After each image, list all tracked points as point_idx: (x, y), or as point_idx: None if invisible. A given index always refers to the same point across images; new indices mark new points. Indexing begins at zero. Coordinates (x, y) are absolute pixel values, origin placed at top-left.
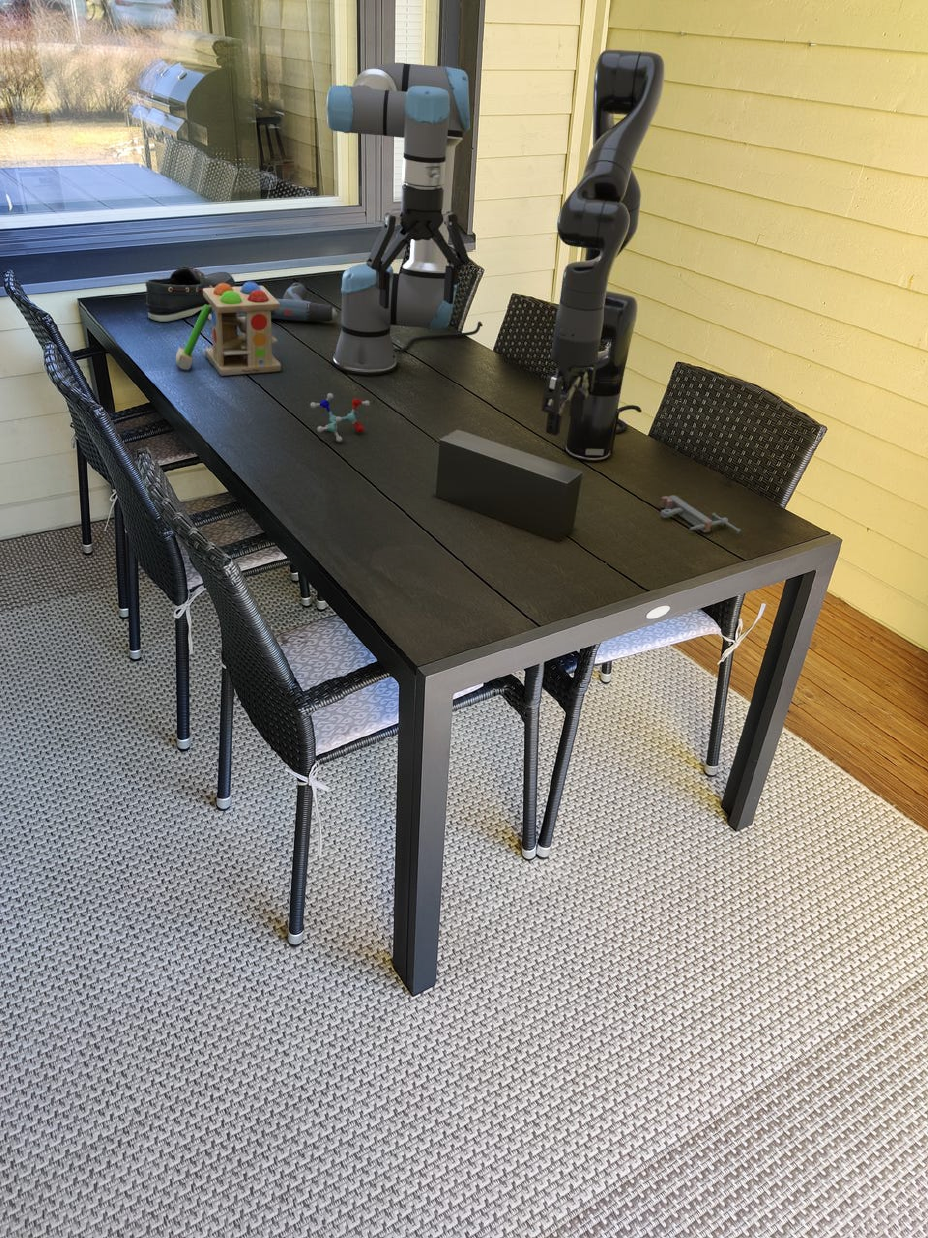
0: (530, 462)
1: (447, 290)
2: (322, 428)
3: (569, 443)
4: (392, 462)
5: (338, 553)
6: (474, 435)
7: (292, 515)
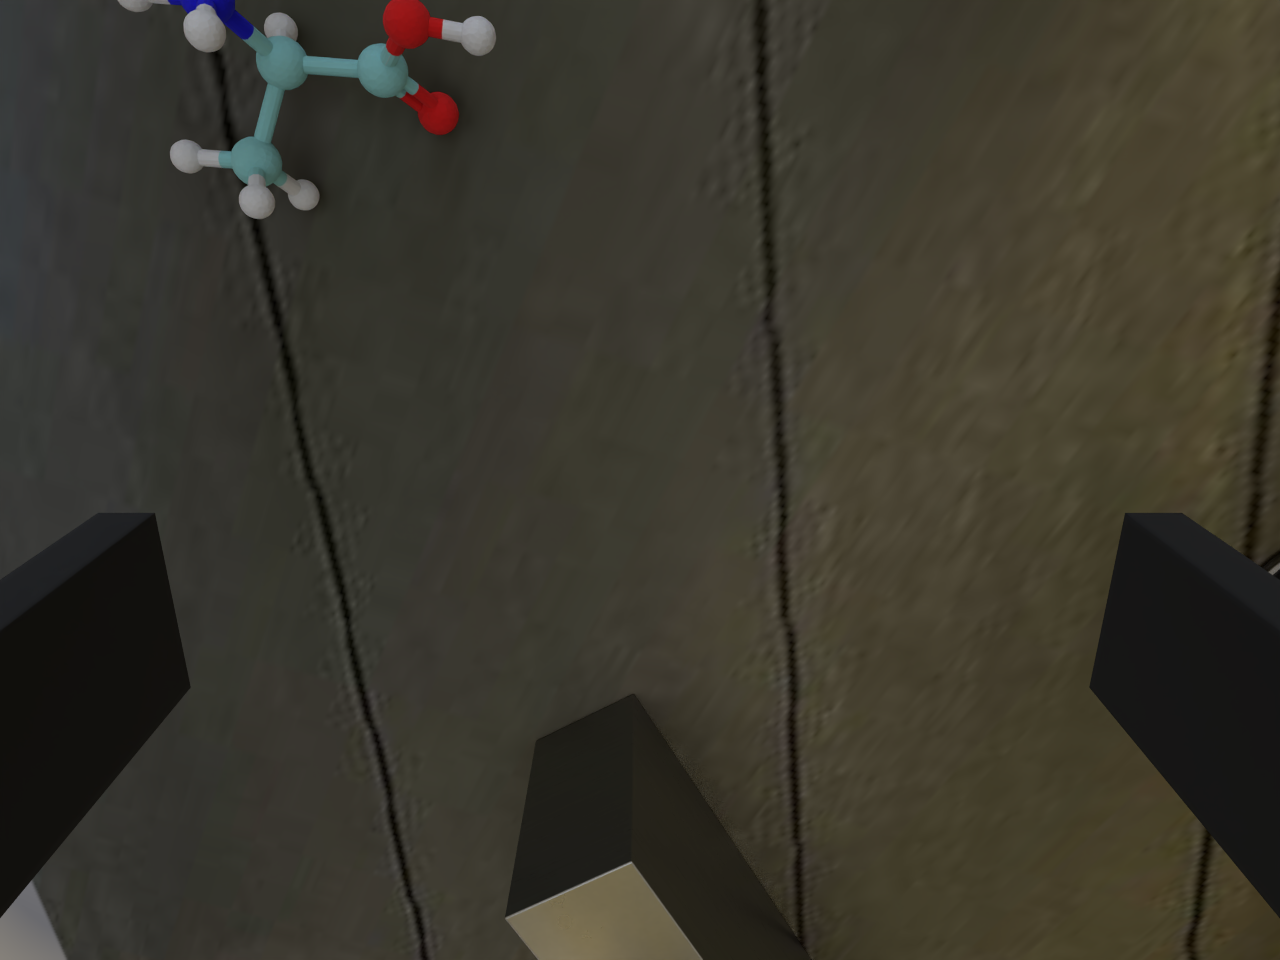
0: None
1: (1196, 708)
2: (195, 168)
3: None
4: (486, 455)
5: (118, 931)
6: (675, 926)
7: None
